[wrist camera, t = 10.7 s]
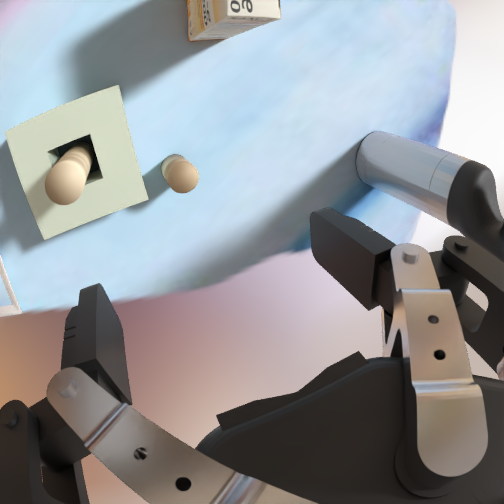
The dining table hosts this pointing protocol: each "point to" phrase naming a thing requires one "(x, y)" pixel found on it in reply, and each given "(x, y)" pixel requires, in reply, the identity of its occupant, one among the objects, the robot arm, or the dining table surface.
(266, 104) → the dining table surface
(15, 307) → the dessert
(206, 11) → the supplement box
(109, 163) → the hole block
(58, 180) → the long dowel
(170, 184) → the short dowel
